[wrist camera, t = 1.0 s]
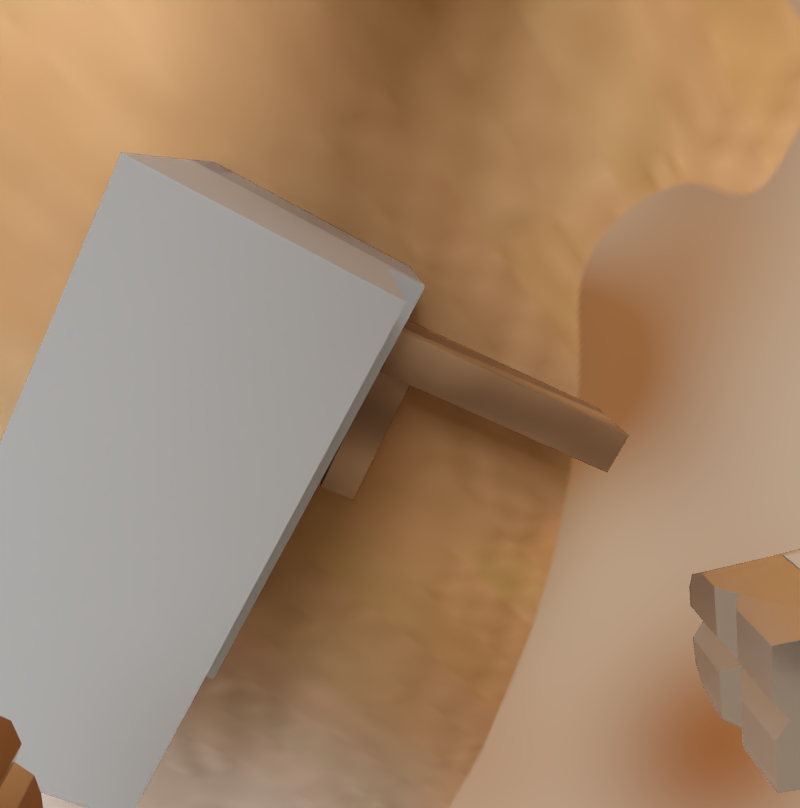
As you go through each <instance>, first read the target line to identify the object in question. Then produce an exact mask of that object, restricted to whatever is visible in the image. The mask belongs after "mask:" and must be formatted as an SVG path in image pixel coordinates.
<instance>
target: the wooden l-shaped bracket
mask: <svg viewBox="0 0 800 808" xmlns="http://www.w3.org/2000/svg"><path fill="white" fill-rule="evenodd" d="M409 385H410V386H413V387H415V388H417V389H420V390H422V391H424V392H426V393H429V394H431V395H433V396H435V397H438V398H440V399H442V400H444V401H447V402H449V403H451V404H453V405H456V406H458V407H460V408H462V409H465V410H467V411H469V412H472V413H474V414H476V415H478V416H481V417H483V418H485V419H487V420H490V421H492V422H494V423H496V424H499V425H501V426H503V427H505V428H508V429H510V430H512V431H515V432H517V433H519V434H521V435H524V436H526V437H528V438H530V439H533V440H535V441H537V442H539V443H542V444H544V445H546V446H548V447H551V448H553V449H555V450H557V451H560V452H562V453H564V454H567V455H569V456H571V457H573V458H576V459H578V460H580V461H582V462H585V463H587V464H589V465H592V466H594V467H596V468H598V469H600V470H603V471H605V472H608V470H609V468H610V467H611V465H612V463H613V462H614V460H615V458H616V456H617V455H618V453H619V451H620V450H621V448H622V446H623V444H624V443H625V441H626V439H627V438H628V434H627V433H625V432H624V431H623V430H622V429H621V428H620V427H619V426H618V425H617V424H616V423H614V422H613V421H612V420H611V419H609V417H608V416H607V415H605V414H604V413H603V412H602V411H601V410H600V409H599V408H597V407H594V406H592V405H590V404H588V403H586V402H584V401H582V400H580V399H577V398H575V397H573V396H571V395H568V394H566V393H564V392H562V391H560V390H558V389H555V388H553V387H551V386H549V385H547V384H545V383H542V382H540V381H538V380H536V379H534V378H532V377H529V376H527V375H525V374H523V373H521V372H518V371H516V370H514V369H512V368H510V367H508V366H505V365H503V364H501V363H499V362H497V361H495V360H492V359H490V358H488V357H486V356H484V355H482V354H479V353H477V352H475V351H473V350H471V349H469V348H466V347H464V346H462V345H460V344H458V343H456V342H453V341H451V340H449V339H447V338H445V337H443V336H440V335H438V334H436V333H434V332H432V331H430V330H427V329H425V328H423V327H421V326H419V325H417V324H414V323H412V322H410V321H408V320H407V322H406V324H405V325H404V327H403V329H402V331H401V333H400V335H399V337H398V338H397V340H396V342H395V344H394V346H393V348H392V350H391V351H390V353H389V355H388V357H387V359H386V361H385V363H384V364H383V366H382V368H381V370H380V372H379V374H378V376H377V377H376V379H375V381H374V383H373V385H372V387H371V388H370V390H369V392H368V394H367V396H366V398H365V400H364V401H363V403H362V405H361V407H360V409H359V411H358V413H357V414H356V416H355V418H354V420H353V422H352V424H351V426H350V427H349V429H348V431H347V433H346V435H345V437H344V439H343V440H342V442H341V444H340V446H339V448H338V450H337V451H336V453H335V455H334V457H333V459H332V461H331V463H330V464H329V466H328V468H327V470H326V472H325V474H324V476H323V477H322V479H321V487H322V488H324V489H327V490H329V491H332V492H334V493H337V494H339V495H342V496H344V497H347V498H349V499H352V500H353V499H354V497H355V495H356V493H357V491H358V489H359V487H360V484H361V482H362V480H363V478H364V476H365V474H366V472H367V470H368V468H369V466H370V464H371V462H372V460H373V458H374V456H375V454H376V452H377V450H378V448H379V446H380V444H381V442H382V440H383V438H384V436H385V434H386V432H387V430H388V428H389V426H390V424H391V422H392V420H393V418H394V416H395V414H396V412H397V410H398V408H399V405H400V403H401V401H402V399H403V397H404V395H405V393H406V391H407V389H408V387H409Z"/></svg>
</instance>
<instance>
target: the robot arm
mask: <svg viewBox="0 0 800 808" xmlns="http://www.w3.org/2000/svg"><path fill="white" fill-rule="evenodd" d="M689 588H690V604H691V607H692V608H693V609H694V610H695V612H696V613H697V614H698V615H699V616H700V618H701V619H702V620H703V622H702V624H701V626H700V627H699V629H698V631H697V632H696V634H695V636H694V637H693V643H694V653H695V661H696V666H697V669H698V672H699V675H700V679H701V682H702V685H703V688H704V690H705V692H706V693H707V695H708V697H709V699H710V701H711V703H712V704H713V706H714V708H715V709H716V710H717V712H718V713H719V715H720V716H721V717H722V719H724V720H726V721H728V722H730V723H732V724H735V725H737V726H739V727H741V728H742V734H743V748H744V749H745V750H746V752H747V753H748V754H749V756H750V757H751V758H752V760H753V761H754V762H755V764H756V765H757V766H758V768H759V769H760V770H761V772H762V773H763V774H764V776H765V777H766V779H767V780H768V781H769V783H770V784H771V785H772V787H773V788H774V789H775V791H776V792H777V793H783V792H789V791H794V790H800V549H798V550H793V551H789V552H785V553H781V554H777V555H774V556H771V557H767V558H762V559H758V560H753V561H749V562H744V563H740V564H736V565H731V566H727V567H723V568H718V569H714V570H710V571H705V572H700V573H696V574H692V577H691V582H690V587H689ZM21 744H22V743H21V741H20V739H19V737H18V735H17V732H16V730H15V728H14V726H13V724H12V721H11V720H9V719H6V718H4V717H2V716H0V808H43V805H42V797H41V792H40V789H39V786H38V784H37V781H36V778H35V776H34V775H33V774H32V773H30V772H29V771H27V770H26V769H24V768H23V767H21V766H20V765H18V764H17V763H15V760H16V757H17V755H18V752H19V750H20V747H21Z"/></svg>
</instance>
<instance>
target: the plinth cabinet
mask: <svg viewBox="0 0 800 808" xmlns="http://www.w3.org/2000/svg"><path fill="white" fill-rule="evenodd" d="M424 288H425V286H424V284H423V283H422V282H421V280H420V279H419V278H418V276H417V275H416V274H415V273H414V271H413V270H412V269H411V267H409V266H407V265H405V264H403V263H401V262H399V261H398V260H396V259H394V258H392V257H390V256H388V255H386V254H385V253H383V252H381V251H379V250H377V249H375V248H373V247H371V246H370V245H368V244H366V243H364V242H362V241H360V240H358V239H357V238H355V237H353V236H351V235H349V234H347V233H345V232H343V231H342V230H340V229H338V228H336V227H334V226H332V225H330V224H329V223H327V222H325V221H323V220H321V219H319V218H317V217H316V216H314V215H312V214H310V213H308V212H306V211H304V210H302V209H301V208H299V207H297V206H295V205H293V204H291V203H289V202H288V201H286V200H284V199H282V198H280V197H278V196H276V195H274V194H273V193H271V192H269V191H267V190H265V189H263V188H261V187H260V186H258V185H256V184H254V183H252V182H250V181H248V180H247V179H245V178H243V177H241V176H239V175H237V174H235V173H233V172H232V171H230V170H228V169H226V168H224V167H222V166H220V165H219V164H217V163H215V162H209V161H199V160H190V159H180V158H170V157H160V156H151V155H141V154H131V153H121V154H120V157H119V159H118V162H117V164H116V166H115V169H114V171H113V174H112V176H111V178H110V181H109V183H108V186H107V188H106V190H105V193H104V195H103V198H102V200H101V202H100V205H99V207H98V210H97V212H96V214H95V217H94V219H93V222H92V224H91V226H90V229H89V231H88V234H87V236H86V239H85V241H84V243H83V246H82V248H81V251H80V253H79V255H78V258H77V260H76V263H75V265H74V267H73V270H72V272H71V275H70V277H69V279H68V282H67V284H66V287H65V289H64V291H63V294H62V296H61V299H60V301H59V303H58V306H57V308H56V311H55V313H54V315H53V318H52V320H51V323H50V325H49V327H48V330H47V332H46V335H45V337H44V339H43V342H42V344H41V347H40V349H39V351H38V354H37V356H36V359H35V361H34V363H33V366H32V368H31V371H30V373H29V375H28V378H27V380H26V383H25V385H24V387H23V390H22V392H21V395H20V397H19V399H18V402H17V404H16V407H15V409H14V411H13V414H12V416H11V419H10V421H9V423H8V426H7V428H6V431H5V433H4V436H3V438H2V440H1V443H0V716H2V717H4V718H6V719H9V720H11V721H12V724H13V726H14V728H15V730H16V732H17V735H18V737H19V739H20V741H21V743H22V744H21V747H20V750H19V752H18V755H17V757H16V760H15V763H17V764H18V765H20V766H21V767H23V768H24V769H26V770H27V771H29V772H30V773H32V774H33V775H34V776H35V778H36V781H37V784H38V786H39V789H40V792H41V793H44V794H47V795H50V796H53V797H56V798H59V799H62V800H65V801H68V802H71V803H74V804H77V805H80V806H83V807H86V808H135V807H136V805H137V804H138V802H139V800H140V798H141V796H142V794H143V792H144V791H145V789H146V787H147V785H148V783H149V781H150V779H151V777H152V776H153V774H154V772H155V770H156V768H157V766H158V764H159V763H160V761H161V759H162V757H163V755H164V753H165V751H166V750H167V748H168V746H169V744H170V742H171V740H172V738H173V736H174V735H175V733H176V731H177V729H178V727H179V725H180V723H181V722H182V720H183V718H184V716H185V714H186V712H187V710H188V708H189V707H190V705H191V703H192V701H193V699H194V697H195V695H196V694H197V692H198V690H199V688H200V686H201V684H202V682H203V680H204V679H205V677H208V678H210V679H214V678H215V676H216V674H217V672H218V670H219V668H220V666H221V665H222V663H223V661H224V659H225V657H226V655H227V654H228V652H229V650H230V648H231V646H232V644H233V642H234V641H235V639H236V637H237V635H238V633H239V631H240V629H241V628H242V626H243V624H244V622H245V620H246V618H247V616H248V615H249V613H250V611H251V609H252V607H253V605H254V603H255V602H256V600H257V598H258V596H259V594H260V592H261V590H262V589H263V587H264V585H265V583H266V581H267V579H268V578H269V576H270V574H271V572H272V570H273V568H274V566H275V565H276V563H277V561H278V559H279V557H280V555H281V553H282V552H283V550H284V548H285V546H286V544H287V542H288V540H289V539H290V537H291V535H292V533H293V531H294V529H295V527H296V526H297V524H298V522H299V520H300V518H301V516H302V515H303V513H304V511H305V509H306V507H307V505H308V503H309V502H310V500H311V498H312V496H313V494H314V492H315V490H316V489H317V487H318V485H319V483H320V481H321V479H322V477H323V476H324V474H325V472H326V470H327V468H328V466H329V464H330V463H331V461H332V459H333V457H334V455H335V453H336V451H337V450H338V448H339V446H340V444H341V442H342V440H343V439H344V437H345V435H346V433H347V431H348V429H349V427H350V426H351V424H352V422H353V420H354V418H355V416H356V414H357V413H358V411H359V409H360V407H361V405H362V403H363V401H364V400H365V398H366V396H367V394H368V392H369V390H370V388H371V387H372V385H373V383H374V381H375V379H376V377H377V376H378V374H379V372H380V370H381V368H382V366H383V364H384V363H385V361H386V359H387V357H388V355H389V353H390V351H391V350H392V348H393V346H394V344H395V342H396V340H397V338H398V337H399V335H400V333H401V331H402V329H403V327H404V325H405V324H406V322H407V320H408V318H409V316H410V314H411V312H412V311H413V309H414V307H415V305H416V303H417V301H418V300H419V298H420V296H421V294H422V292H423V290H424Z"/></svg>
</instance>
